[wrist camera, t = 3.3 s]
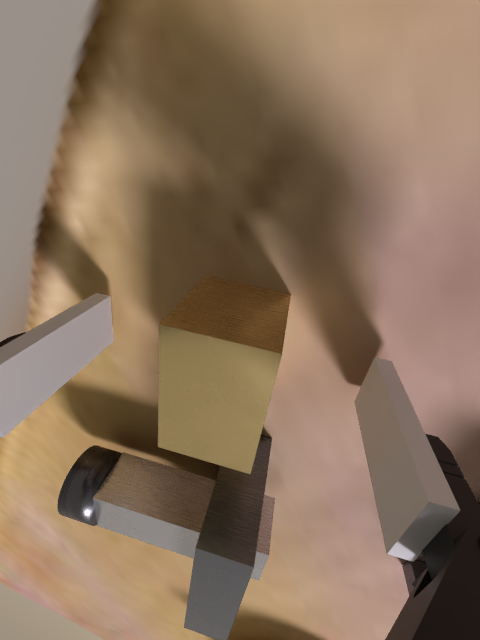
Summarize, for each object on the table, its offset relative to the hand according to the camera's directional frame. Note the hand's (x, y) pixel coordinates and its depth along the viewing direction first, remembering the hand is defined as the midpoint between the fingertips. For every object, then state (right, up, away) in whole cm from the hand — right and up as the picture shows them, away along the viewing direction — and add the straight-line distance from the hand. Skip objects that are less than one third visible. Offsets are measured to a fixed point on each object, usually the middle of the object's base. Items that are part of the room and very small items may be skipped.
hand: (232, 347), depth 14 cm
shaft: (-3, -9, +5) cm, 11 cm away
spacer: (0, 0, +1) cm, 1 cm away
